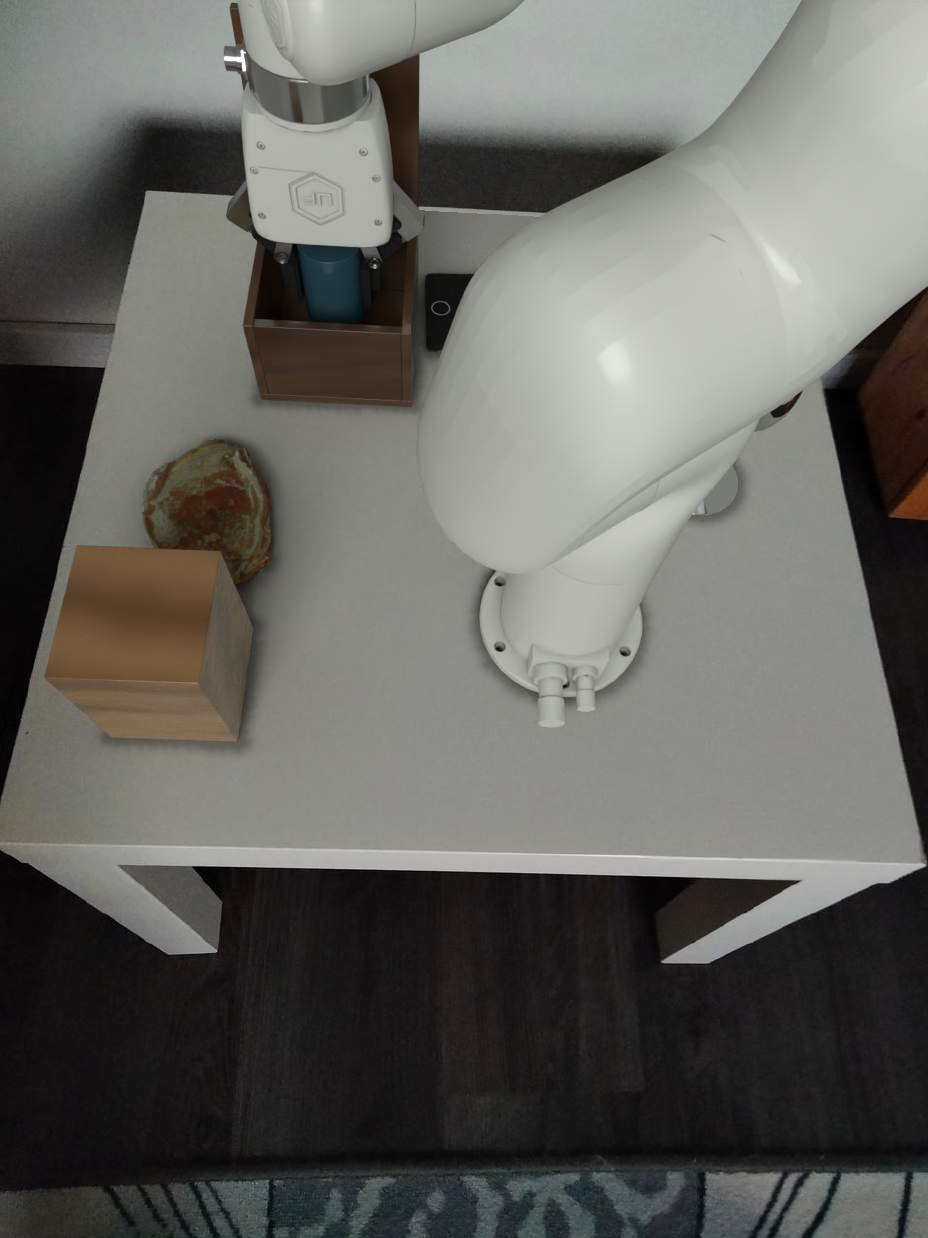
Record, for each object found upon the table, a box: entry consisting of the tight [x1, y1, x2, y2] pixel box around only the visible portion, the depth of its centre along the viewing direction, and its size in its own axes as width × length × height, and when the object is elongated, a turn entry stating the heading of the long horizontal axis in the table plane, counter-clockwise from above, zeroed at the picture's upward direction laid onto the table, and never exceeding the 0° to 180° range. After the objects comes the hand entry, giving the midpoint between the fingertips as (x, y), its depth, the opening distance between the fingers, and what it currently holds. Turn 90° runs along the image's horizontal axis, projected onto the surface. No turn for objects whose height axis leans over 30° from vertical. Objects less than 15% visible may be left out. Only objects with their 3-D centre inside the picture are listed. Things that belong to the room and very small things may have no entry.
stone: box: [141, 438, 274, 586], centre depth 66 cm, size 13×10×3 cm
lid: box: [229, 2, 421, 209], centre depth 65 cm, size 14×13×5 cm
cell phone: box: [424, 272, 475, 352], centre depth 78 cm, size 9×18×1 cm, turn 92°
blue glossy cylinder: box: [297, 244, 366, 324], centre depth 68 cm, size 5×5×7 cm
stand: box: [44, 544, 254, 743], centre depth 57 cm, size 9×9×12 cm
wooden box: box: [242, 213, 419, 408], centre depth 72 cm, size 14×13×9 cm
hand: (334, 290), depth 69 cm, fingers closed on blue glossy cylinder, 5 cm apart
